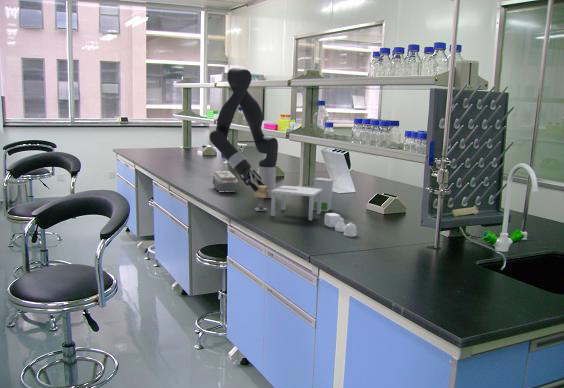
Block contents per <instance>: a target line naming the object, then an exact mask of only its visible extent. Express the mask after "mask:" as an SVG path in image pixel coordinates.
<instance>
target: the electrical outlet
mask: <svg viewBox="0 0 564 388" xmlns="http://www.w3.org/2000/svg"><path fill="white" fill-rule="evenodd" d="M212 173H213V174H212V184H213V187H214V189H215V188H216V189H217V190H218V191H224V192H225V191H237V192H238V183H239V182H238V181H239V180H238V179H237V177H236V175H234V174H233V173H232V172H231V171H230V170H215V171H212ZM216 189H215V190H216ZM217 190H216V191H217Z"/></svg>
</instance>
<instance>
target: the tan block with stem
mask: <svg viewBox="0 0 564 388" xmlns="http://www.w3.org/2000/svg"><path fill="white" fill-rule="evenodd" d="M256 186H257V187H258V190H257V191H256V192H255V191H254V198H258V207H255V208H254V211H255V210H256V211H267V212H268V208H266V207H264V198H265V197H268V186H262V185H258V184H257V185H256ZM256 211H255V212H256Z"/></svg>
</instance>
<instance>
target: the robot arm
mask: <svg viewBox="0 0 564 388" xmlns="http://www.w3.org/2000/svg"><path fill="white" fill-rule="evenodd" d="M226 78H227V79H226V80H227V83H228V85H229V87H230V89H231V90H232V92H233V93H232V94H231V96H230V97H229V98H228V100H227V101H225V102H224V104H223V105H222V107H221V109H220V111H219V113H218V117H217V119H216V127H215V130H213V131H211V132H210V134H209V141H210V142H211V143H212V145H213V146H214V147H215V148H216V149H217V150H218V152H220V153H221V155H222V156H223V157H224V159H225V161H227V162H228V164H229V166H230V167H231V168H232V169H233V170H234V171H235V173H236V174H237V175H238V176H239V178H240V180H242V181H243V183H244V184H245V186H247V187H250V188H251V189H252V190H253V192H254V193H255V192H256V191H257V190H258V187H257V186H258V185H262V186H268V197H265V198H271V196H272V193H271V190H274V189H276V176H277V175H276V173H277V172H276V170H277V167H276V166H277V161H278V153H279V141H278V139H277V138H276V137H273V136H265V134H264V133H263V130H262V126H263V122H264V114H263V111H262V108H261V106H260V104H259V102H258V101H257V100H256V99H255V98H254V97H253V96H252V94H250V92H249V91H248V89H249V87H250V85H251V82H252V80H253V79H252V78H253V77H252V73H251V71H250V70H248V69H246V68H238V67H232V68H230V69H228V71H227V75H226ZM239 106H240V108H241V111H242V114H243V116H244V118H245V120H246V122H247V125H248V127H249V129H250V133H251V136H252V139H253V141H254V145H255V149H256V150H257V151H258V153H261V154H265V155H266V156H265V158H264V159H260V160H259V161H258V172H257V171H256V170H255V169H253V170H251V167H252V166H251V164H250V162H248V160H247V159H246V158H245V156H243V154H241V152H240V151H239V150H238V149H237V148H236V146H234V145H233V144H232V143H231V142H230V141H229V139H228V137H229V131H230V127H231V125H232V122H233V121H234V120H233V119H234V117H235V114H236V111H237V109H238V107H239Z"/></svg>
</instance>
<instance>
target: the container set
mask: <svg viewBox="0 0 564 388" xmlns="http://www.w3.org/2000/svg"><path fill="white" fill-rule="evenodd" d="M324 226H326V227H329V228H334V231H335V232H341V233H343V236H346V237H357V231H358V230H357V226H356V225H355V224H354V223H353V222H349V223H347V224H346V223H345V222H344V218H343V217H342V216H341V214H338V213H336V212H327V213H325V214H324Z"/></svg>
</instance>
